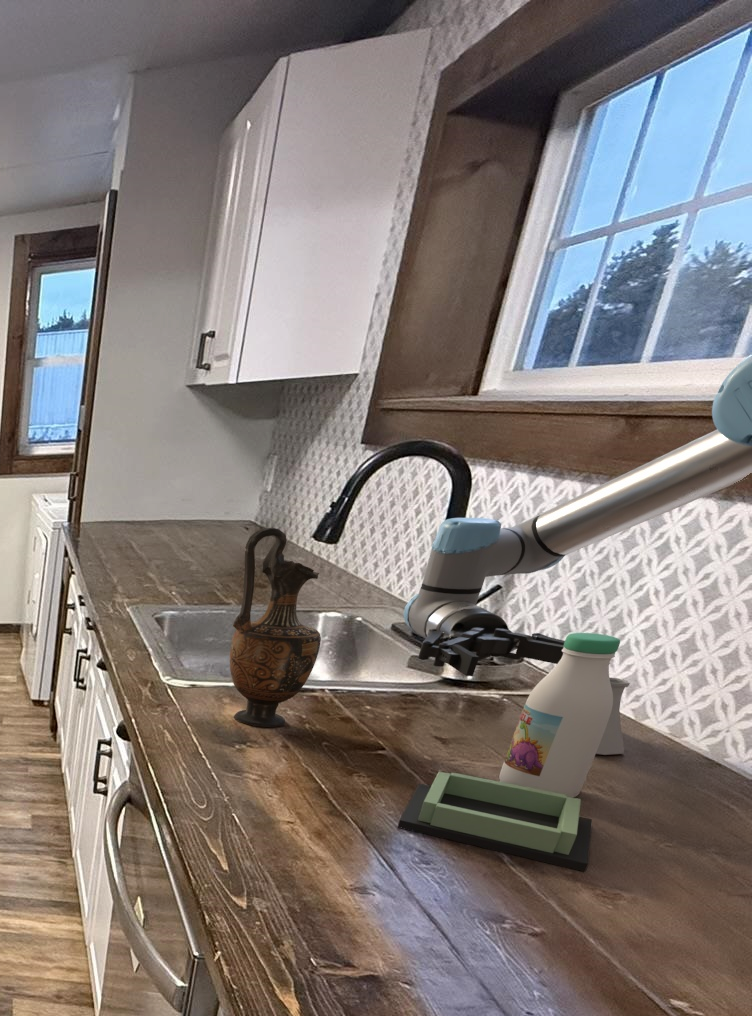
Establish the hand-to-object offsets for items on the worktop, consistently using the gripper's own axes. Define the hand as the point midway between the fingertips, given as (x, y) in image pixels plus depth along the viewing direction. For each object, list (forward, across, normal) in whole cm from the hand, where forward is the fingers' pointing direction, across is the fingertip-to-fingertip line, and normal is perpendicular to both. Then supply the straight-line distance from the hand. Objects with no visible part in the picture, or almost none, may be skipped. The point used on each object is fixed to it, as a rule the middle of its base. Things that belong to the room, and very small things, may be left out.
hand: (536, 669), depth 109 cm
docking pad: (+23, +10, -13) cm, 29 cm away
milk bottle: (+9, 0, -13) cm, 16 cm away
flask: (-9, -13, -14) cm, 21 cm away
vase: (-12, +28, -14) cm, 33 cm away
